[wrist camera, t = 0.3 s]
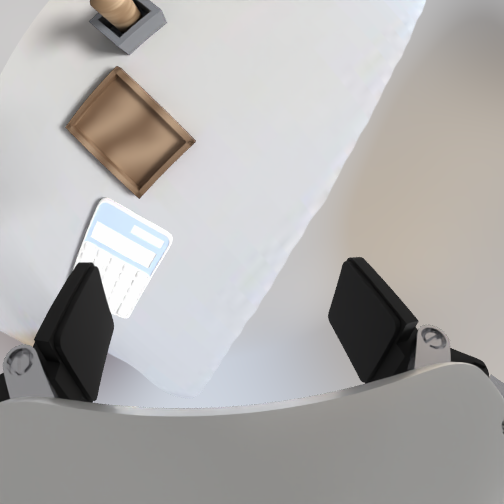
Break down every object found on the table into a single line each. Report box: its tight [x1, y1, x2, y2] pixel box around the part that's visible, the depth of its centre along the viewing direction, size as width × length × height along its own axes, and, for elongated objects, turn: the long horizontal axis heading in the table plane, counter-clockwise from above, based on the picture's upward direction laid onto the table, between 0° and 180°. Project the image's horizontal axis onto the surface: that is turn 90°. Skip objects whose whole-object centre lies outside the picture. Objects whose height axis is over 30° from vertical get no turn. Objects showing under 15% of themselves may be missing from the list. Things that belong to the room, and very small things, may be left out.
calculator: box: [73, 198, 173, 319], centre depth 41 cm, size 13×20×2 cm, turn 143°
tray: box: [65, 66, 196, 199], centre depth 31 cm, size 16×11×2 cm
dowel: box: [90, 0, 143, 34], centre depth 18 cm, size 4×4×12 cm
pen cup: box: [89, 0, 167, 55], centre depth 22 cm, size 7×7×6 cm
